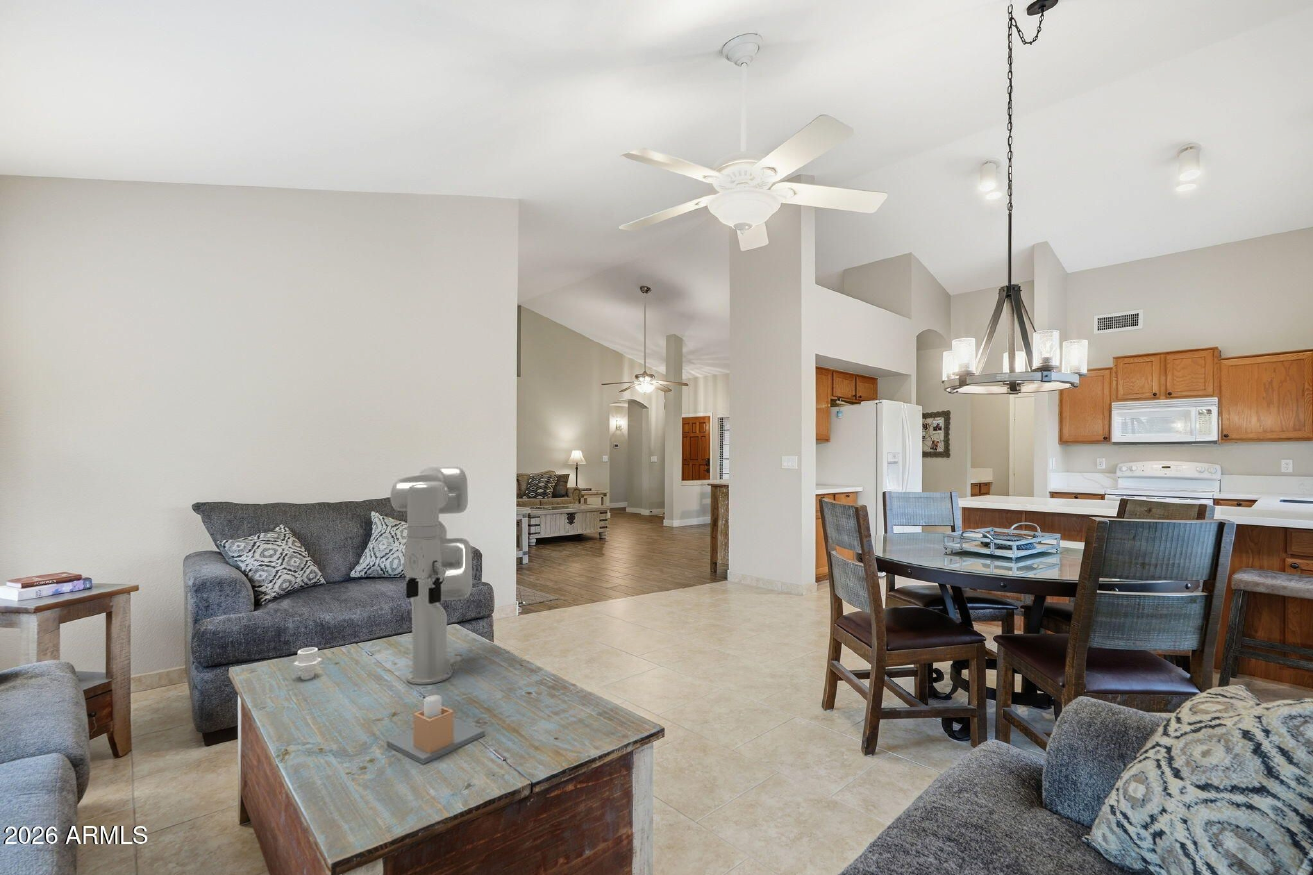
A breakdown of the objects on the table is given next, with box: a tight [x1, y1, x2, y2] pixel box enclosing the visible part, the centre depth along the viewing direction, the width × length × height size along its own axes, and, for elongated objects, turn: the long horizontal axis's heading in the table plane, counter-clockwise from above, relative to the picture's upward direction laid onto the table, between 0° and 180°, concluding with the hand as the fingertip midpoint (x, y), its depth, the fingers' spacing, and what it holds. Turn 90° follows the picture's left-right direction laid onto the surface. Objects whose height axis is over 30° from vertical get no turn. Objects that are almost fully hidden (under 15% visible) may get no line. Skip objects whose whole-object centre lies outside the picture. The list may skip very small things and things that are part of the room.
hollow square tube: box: [413, 705, 455, 754], centre depth 135 cm, size 6×6×7 cm
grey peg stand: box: [386, 694, 486, 765], centre depth 139 cm, size 16×14×11 cm
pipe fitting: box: [293, 646, 323, 681], centre depth 178 cm, size 6×7×8 cm
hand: (423, 599), depth 155 cm, fingers open, 9 cm apart
